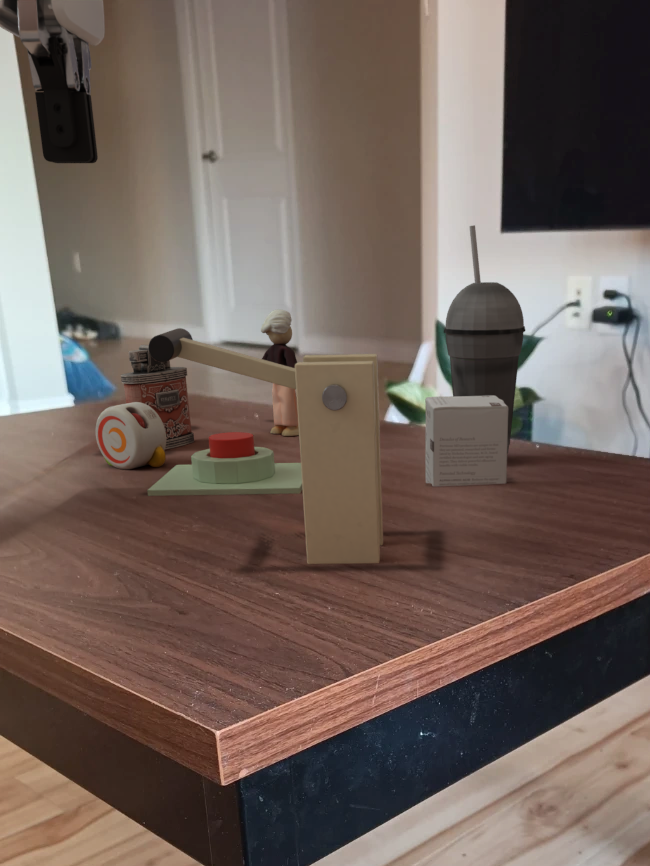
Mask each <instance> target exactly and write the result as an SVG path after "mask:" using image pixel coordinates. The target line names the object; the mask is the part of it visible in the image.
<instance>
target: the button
mask: <svg viewBox="0 0 650 866" xmlns="http://www.w3.org/2000/svg"><path fill="white" fill-rule="evenodd" d="M208 445H209V449H210V457H213V458H241V457H249V456H253V455H255V450H254V447H255V438H254V435H253V433H250V432H246V431H245V432H244V431H230V432H220V433H215V434H211V435H209V436H208Z"/></svg>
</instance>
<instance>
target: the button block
mask: <svg viewBox="0 0 650 866" xmlns="http://www.w3.org/2000/svg"><path fill="white" fill-rule="evenodd" d="M254 450H255V455H253V456H249V457H241V458H213V457H210V448H207V449H203V450H198V451H195V452H194V453H193V454H192V455H191V456H190V460H191V464H176V465H174V467H172V468H171V469H170V470H168V471H167V473H165V474H164V475H163V476H162V477H161V478H160V479H158V480H157V481H156V482H155V483H154V484H153V485H151V486H150V487H149V488H148V489H147V491H146V492H147V496H148V497H153V496H154V497H159V496H161V497H162V496H164V497H165V496H167V497H169V496H215V495H216V496H227V495H228V496H229V495H231V496H232V495H233V496H234V495H290V494H292V495H294V494H296V495H297V494H301V492H303V489H302V473H301V462H275V453H274V452H275V451H274V450H272V449H270V448H267V447H263V446H254Z"/></svg>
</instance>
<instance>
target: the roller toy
mask: <svg viewBox="0 0 650 866" xmlns="http://www.w3.org/2000/svg"><path fill="white" fill-rule="evenodd" d="M95 440H96V443H97V448H98V449H99V451H100V453H101V455H102V456H103V459H104V460H105V462H106V463H107V464H108V465H109V466H110V467H115V468H116V469H119V470H125V471H126V470H128V471H129V470H133V469H138V468H141V467H144V466H150V467H153V468H161V467H162V466H164V464H165V463H166V458H167V456H166V452H165V451H166V449H165V447H166V432H165V428H164V425H163V422H162V420H161V418H160V417H159V415H158V414H157V413H156V412H155V410H153V409H152V408H151V407H150V406H148V405H146V404H144V403H141V402H132V403H127V404H126V403H122V404H117V405H111V406H109V407H107V408H105V409H104V410H102V412H101V413H100V414H99V416H98V417H97V420H96V424H95Z"/></svg>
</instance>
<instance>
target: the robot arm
mask: <svg viewBox="0 0 650 866" xmlns="http://www.w3.org/2000/svg"><path fill="white" fill-rule="evenodd" d="M104 9H105V7H104V0H0V28H1V29H3V30H5V31H6V32H8V33H9V34H12V35H14V36H15V37H17V38H19V40H20V41H21V43H22V45H23V46H24V47H25V48H26V51H27V58H28V63H29V69H30V77H31V81H32V85H33V88H34V90H35V92H34V94H35V95H34V96H35V102H36V110H37V118H38V127H39V133H40V141H41V149H42V156H43V158H44V160H45V161H46V162H49V163H54V164H95V163H96V162H97V161H98V148H97V147H98V146H97V138H96V130H95V129H96V128H95V120H94V111H93V110H94V109H93V101H92V95H91V92H92V91H91V90H92V88H91V76H90V70H91V69H92V58H91V51H90V45H91V46H93V47H96V46H98V45H100V44H101V42H103V40H104V38H105V35H106V29H105V28H106V27H105V24H106V23H105V10H104Z"/></svg>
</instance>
